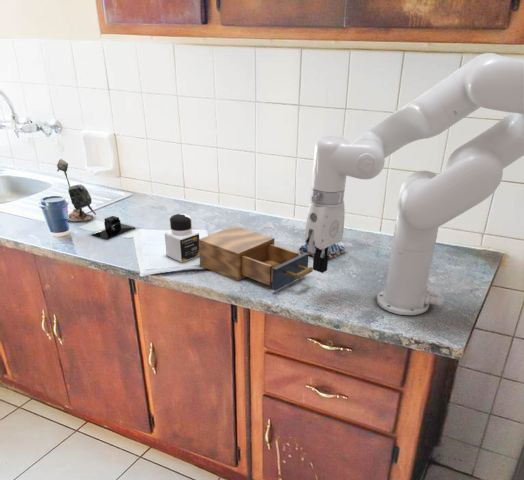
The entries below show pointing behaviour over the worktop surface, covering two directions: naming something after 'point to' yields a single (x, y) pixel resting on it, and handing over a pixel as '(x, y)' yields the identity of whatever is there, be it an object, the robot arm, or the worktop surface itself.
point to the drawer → (274, 265)
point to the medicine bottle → (182, 239)
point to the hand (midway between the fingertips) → (319, 270)
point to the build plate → (112, 228)
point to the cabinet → (229, 250)
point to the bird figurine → (77, 197)
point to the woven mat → (334, 251)
